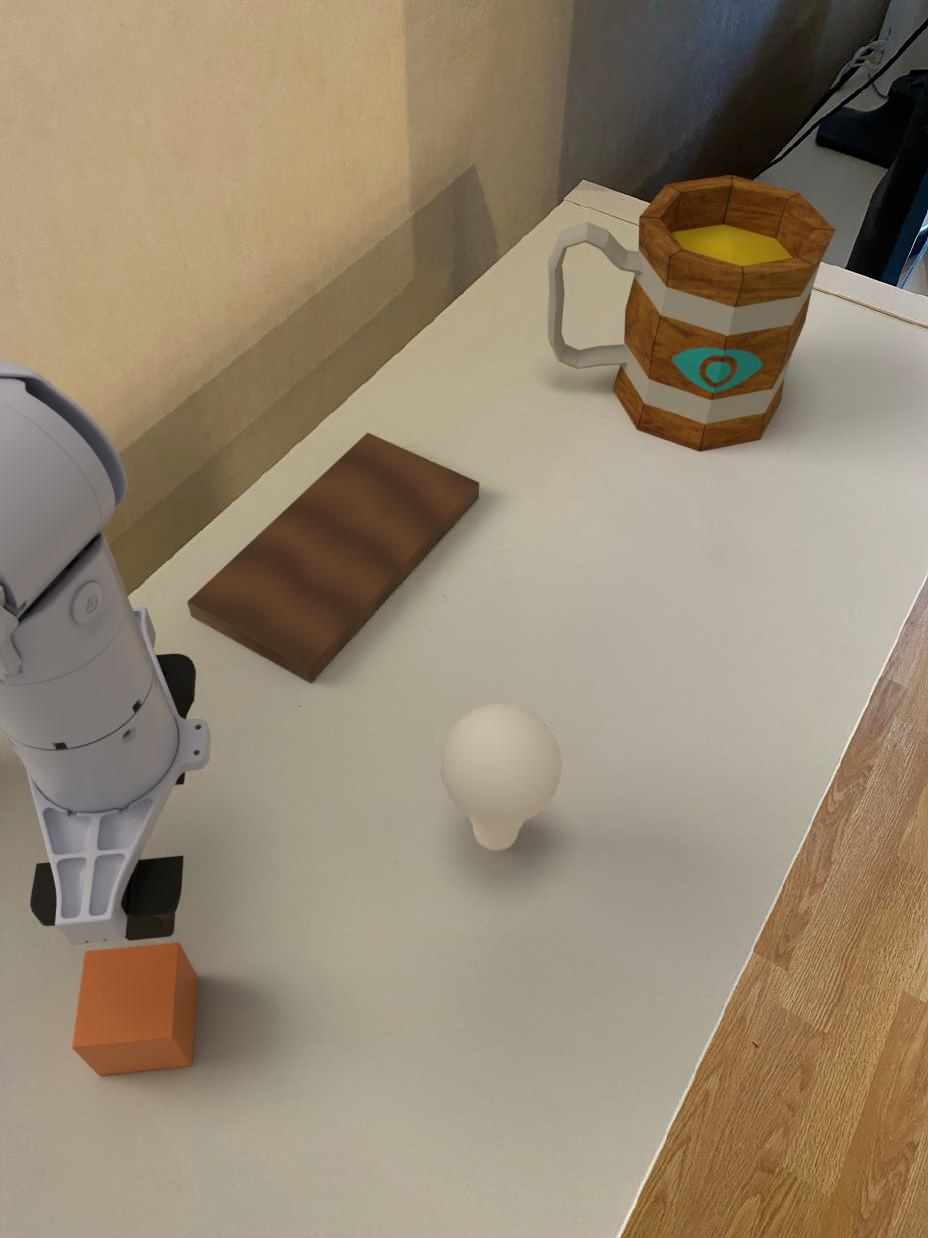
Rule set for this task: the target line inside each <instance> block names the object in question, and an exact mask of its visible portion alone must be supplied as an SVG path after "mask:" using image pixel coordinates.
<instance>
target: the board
mask: <svg viewBox="0 0 928 1238" xmlns="http://www.w3.org/2000/svg"><path fill="white" fill-rule="evenodd" d="M479 498H480V481H477V480H475V479H473V478H470V477H468V476H466V475H463V474H461V473H459V472H458V471H455V470H453V469H450V468H448V467H446V466H444V465H441V464H439V463H438V462H434V461H432V460H430V459H428V458H426V457H423V456H421V455H419V454H417V453H415V452H412V451H411V450H408V449H406V448H403V447H401V446H399V445H396V444H395V443H392V442H390V441H389V440H385V439H383V438H381V437H379V436H377V435H374V434H373V433H370V432H366V433H365V434H364V435H363V436H362V437H361V438H360V439H359V440H358V441H357V442H356V443H354V444H353V445H352V446H351V447H350V448H349V449H348V450H347V451H346V452H345V453H344V454H343V455H341V456H340V458H339V459H337V460H336V461H335V462H334V463H333V464H332V465H331V466H330V467H329V468H328V469H327V470H326V471H324V473H323V474H322V475H320V476H319V477H318V478H317V479H316V480H315V481H314V482H313V483H312V484H311V485H310V486H309V487H308V488H307V489H305V490H304V491H303V492H302V493H301V494H300V495H299V496H298V497H297V498H296V499H294V501H293V502H291V504H290V505H288V506H287V507H286V508H285V509H284V510H283V511H282V512H281V513H280V514H279V515H278V516H277V517H276V518H274V520H272V521H271V522H270V523H269V524H268V525H267V526H266V527H265V528H264V529H263V530H262V531H261V532H260V533H259V534H257V536H255V537H254V538H253V539H252V540H251V541H250V542H249V543H248V544H247V545H246V546H245V547H244V548H242V549H241V551H239V553H237V554H236V555H235V556H234V557H233V558H232V559H230V561H229V562H228V563H226V564H225V565H224V567H222V568H221V569H220V570H219V571H218V572H217V573H216V574H215V575H214V576H213V577H212V578H211V579H209V580H208V581H207V583H205V584H204V585H203V586H202V587H201V588H199V590H198V591H197V592H196V593H194V595H193V596H192V597H190V598H189V599H188V600H187V601H186V603H187V606H188V609H189V612H190V616H191V617H192V618H194V619H196V620H198V621H199V622H201V623H203V624H205V625H206V626H208V627H210V628H212V629H214V630H216V631H217V632H219V633H221V634H223V635H224V636H226V637H228V638H230V639H232V640H233V641H235V642H236V643H239V644H240V645H242V646H244V647H245V648H248V649H249V650H251V651H252V652H255V653H257V654H258V655H260V656H261V657H263V658H265V659H267V660H269V661H271V662H272V663H274V664H276V665H278V666H279V667H281V668H282V669H285V670H287V671H289V672H290V673H292V674H293V675H295V676H297V677H299V678H301V679H302V680H304V681H306V682H308V683H309V684H310V683H312V682H313V681H314V680H315V679H316V678H317V677H318V676H319V674H321V672H322V671H323V670H324V669H325V668H326V667H327V666H328V665H329V664H330V662H331V661H332V660H333V659H334V658H335V657H336V656H337V655H338V654H339V653H340V651H341V650H342V649H343V648H344V647H345V646H346V645H347V644H348V643H349V641H350V640H351V639H352V638H353V637H354V636H355V635H356V634H357V633H358V631H359V630H360V629H361V628H362V627H363V626H364V625H365V624H366V623H367V622H368V620H369V619H370V618H371V617H372V616H373V615H374V613H376V611H378V610H379V608H380V607H381V606H382V605H383V604H384V602H386V601H387V599H388V598H389V597H390V596H391V595H392V594H393V593H394V591H395V590H396V589H398V587H399V586H400V585H401V584H402V583H403V582H404V581H405V579H406V578H407V577H408V576H409V575H411V573H412V572H413V570H414V569H415V568H417V566H418V565H419V564H420V563H421V562H422V561H423V559H425V558H426V556H427V555H428V554H429V553H430V552H431V551H432V549H434V548H435V547H436V545H438V543H439V542H440V541H441V540H442V539H443V537H444V536H445V535H446V534H447V533H448V532H449V531H450V530H451V529H452V527H454V525H455V524H456V523H457V522H458V521H459V520H460V519H461V517H463V515H464V514H465V513H466V512H467V511H468V510H469V509H470V508H471V506H472V505H473V504H474V503H475V502H476V501H477V500H478V499H479Z"/></svg>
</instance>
